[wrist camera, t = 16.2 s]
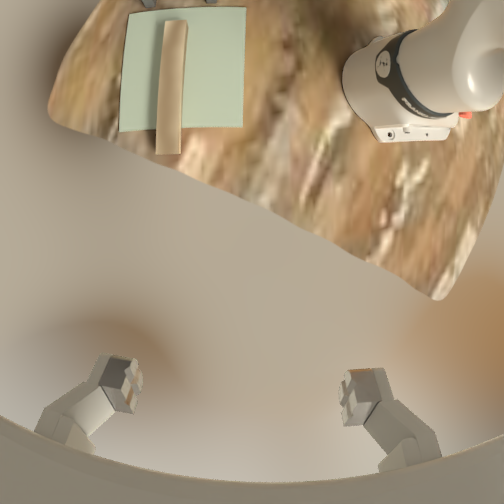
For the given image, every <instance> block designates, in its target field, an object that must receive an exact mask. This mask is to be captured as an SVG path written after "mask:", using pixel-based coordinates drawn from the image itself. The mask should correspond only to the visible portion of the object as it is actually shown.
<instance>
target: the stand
mask: <svg viewBox="0 0 504 504" xmlns="http://www.w3.org/2000/svg"><path fill="white" fill-rule="evenodd" d="M206 1H207V3H217V0H206ZM142 2H143V3H144V5H145V7H146V8H150V7H155V5H156V0H142Z"/></svg>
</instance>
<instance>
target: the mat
mask: <svg viewBox="0 0 504 504" xmlns="http://www.w3.org/2000/svg"><path fill="white" fill-rule="evenodd" d="M174 20H187V23H188V27H189V29H188V39H187V49H186V61H185V73H184V88H183V105H182V127H181V128H191V127H243V90H244V58H245V29H246V7H194V8H177V9H166V10H156V11H148V12H141V13H134V14H129V20H128V27H127V34H126V41H125V50H124V59H123V69H122V81H121V96H120V118H119V132H125V131H137V130H150V129H156V125H157V104H158V89H159V76H160V64H161V54H162V45H163V36H164V28H165V21H174Z"/></svg>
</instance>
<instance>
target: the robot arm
mask: <svg viewBox="0 0 504 504" xmlns="http://www.w3.org/2000/svg"><path fill="white" fill-rule="evenodd" d="M342 83H343V89H344V93H345V95H346V98H347V100H348V102H349V104H350V106H351V107H352V109H353V110H354V111H355V113H356V114H357V115H358V116H359V117H360V118H361V119H362V120H364V121H365V122H366V123H367V124H368V125H369V127H370V128H371V130H372V132H373V134H374V136H375V138H376V139H377V140H378V141H379V142H381V143H389V142H407V141H438V140H445V139H446V138H447V136H448V135H449V132H450V129H451V128H454V127H455V126H456V124H457V122H458V119H459V116H460V117H463V118H472V114H471V112H472V111H485V110H488V109H490V108H492V107H493V106H495V105H496V104H497V103H498V102H499V100H500V99H501V97H502V95H503V92H504V0H450V1H449V3H448V5H447V7H446V9H445V11H444V12H443V13H442V14H441V15H440V16H439V17H437V18H436V19H434V20H433V21H432V22H430V23H428V24H427V25H425V26H423V27H422V28H420V29H414V30H410V31H406V32H403V33H397V34H394V35H392V36H389V37H386V38H385V37H382V36H378V37H376V38H374V39H373V40H372V41H371V43H370V44H369V45H368V46H367V47H365V48H362V49H359V50H357V51H356V52H354V53H353V54H352V55H351V56H350V57H349V58H348V60H347V61H346V63H345V65H344V69H343V74H342ZM388 133H390V137H389V136H388ZM138 365H139V364H138V362H137V359H133V358H127V357H122V356H117V355H112V354H107V353H101V354H100V355H99V357H98V359H97V361H96V363H95V365H94V367H93V369H92V371H91V374H90V375H89V378H88V380H87V382H82V383H81V384H79V385H78V386H76V387H75V388H73V389H72V390H71V391H69V392H68V393H66V394H65V395H63V396H62V397H60V398H59V399H58V400H56V401H54V402H53V403H51V404H50V405H49V406H47V407H46V408H44V410H43V412H42V415H41V417H40V419H39V421H38V424H37V426H36V428H35V430H34V432H33V431H31V430H29V429H27V428H25V427H22V426H20V425H18V424H16V423H14V422H12V421H10V420H9V419H7V418H5V417H3V416H1V415H0V504H504V434H503V435H500V436H498V437H495V438H493V439H491V440H488V441H486V442H483V443H481V444H478V445H476V446H474V447H471V448H468V449H465V450H463V451H460V452H457V453H454V454H451V455H448V456H445V457H442V454H441V451H440V448H439V444H438V441H437V438H436V435H435V432H434V431H433V430H432V429H431V428H430V427H429V426H427V425H426V424H425V423H424V422H423V421H422V420H421V419H419V418H418V417H417V416H416V415H414V413H412V412H411V411H410V410H409V409H408V408H407V407H406V406H404V405H403V404H402V403H401V402H400V401H399V400H394V397H393V394H392V391H391V387H390V385H389V382H388V378H387V375H386V372H385V370H384V368H372V369H370V368H368V369H354V370H347V371H346V372H345V375H344V377H345V380H344V381H342V382H341V384H340V387H339V402H340V404H341V405H342V406H343V407H344V409H343V411H342V413H341V414H342V419H343V425H344V426H357V425H363V426H364V428H365V429H366V430H367V431H368V432H369V433H370V435H371V436H372V437H373V438H374V439H375V440H376V442H377V443H378V444H379V445H380V446H381V448H382V449H383V450H384V451H385V452H386V453H387V456H386V457H385V458H384V459H383V460H382V461H381V462H380V463H379V465H378V468H379V473H375V474H369V475H363V476H356V477H349V478H341V479H331V480H320V481H307V482H306V481H305V482H240V481H225V480H213V479H205V478H197V477H189V476H182V475H176V474H170V473H164V472H159V471H154V470H149V469H145V468H140V467H135V466H132V465H128V464H124V463H120V462H116V461H113V460H109V459H106V458H102V457H99V456H96V455H94V453H95V450H96V447H95V445H94V444H93V443H92V442H91V440H90V439H89V438H88V437H89V436H90V435H91V434H92V433H93V432H94V431H95V430H96V429H97V428H98V427H99V426H100V425H102V424H103V423H104V422H105V421H106V420H107V419H108V418H109V417H110V416H111V415H112V414H113V413H114V412H115V411H119V412H125V413H130V414H134V412H135V409H136V406H137V402H138V401H137V398H136V396H137V395H138V394H139V393H141V390H142V386H143V375H142V372H141V371H140V370H139V369H138Z"/></svg>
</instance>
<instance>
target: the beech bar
mask: <svg viewBox="0 0 504 504" xmlns="http://www.w3.org/2000/svg"><path fill="white" fill-rule="evenodd" d="M188 29H189V27H188V23H187V20H174V21H165V28H164V36H163V45H162V54H161V64H160V76H159V89H158V104H157V125H156V155H161V154H181V127H182V105H183V88H184V73H185V61H186V49H187V39H188Z"/></svg>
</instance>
